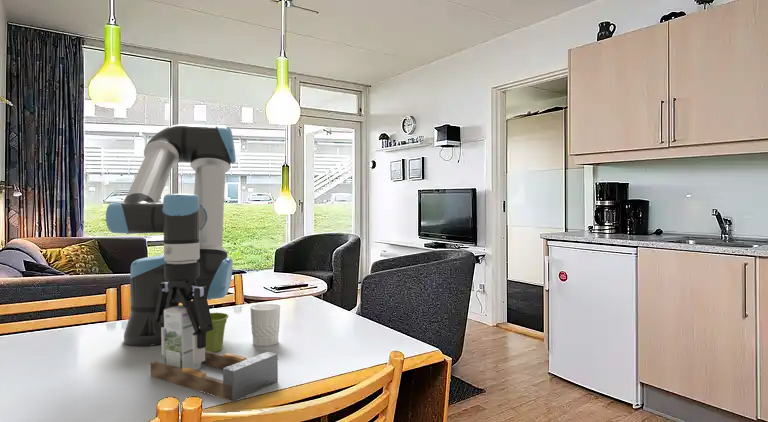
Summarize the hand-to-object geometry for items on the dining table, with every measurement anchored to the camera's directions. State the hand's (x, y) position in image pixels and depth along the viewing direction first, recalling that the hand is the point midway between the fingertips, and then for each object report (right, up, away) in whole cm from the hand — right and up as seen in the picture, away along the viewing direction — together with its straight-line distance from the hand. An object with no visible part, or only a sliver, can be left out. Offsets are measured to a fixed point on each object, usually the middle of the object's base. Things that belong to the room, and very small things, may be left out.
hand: (183, 357), depth 110 cm
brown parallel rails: (+9, -3, -5) cm, 10 cm away
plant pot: (+1, -3, +15) cm, 15 cm away
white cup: (+14, -3, +21) cm, 25 cm away
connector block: (+19, -3, -11) cm, 22 cm away
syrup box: (0, -3, 0) cm, 3 cm away
